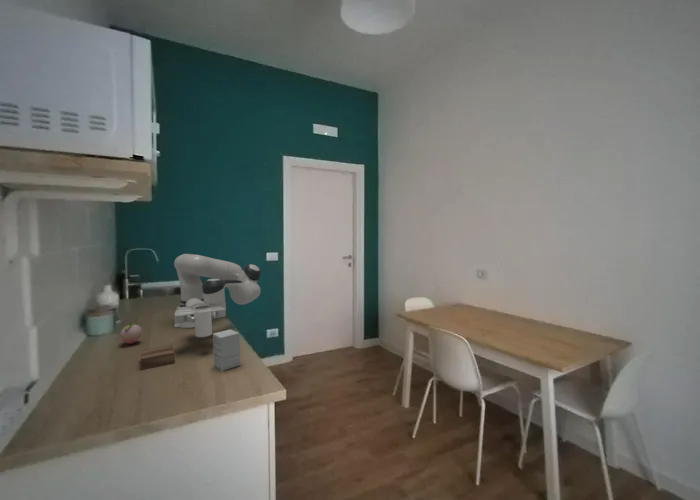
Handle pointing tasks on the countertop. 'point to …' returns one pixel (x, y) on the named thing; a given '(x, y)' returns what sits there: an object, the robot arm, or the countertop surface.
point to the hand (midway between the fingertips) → (203, 318)
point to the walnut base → (157, 357)
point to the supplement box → (226, 349)
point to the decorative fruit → (131, 333)
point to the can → (203, 321)
